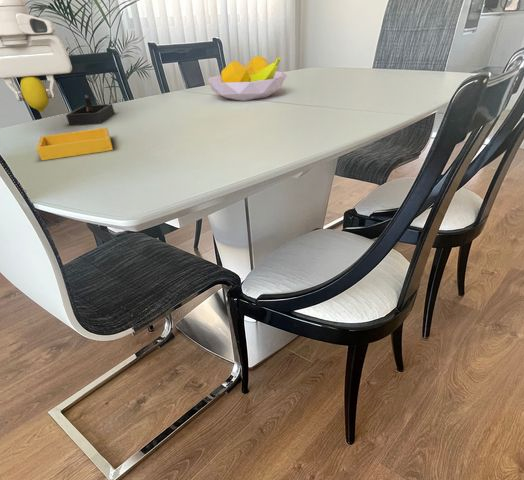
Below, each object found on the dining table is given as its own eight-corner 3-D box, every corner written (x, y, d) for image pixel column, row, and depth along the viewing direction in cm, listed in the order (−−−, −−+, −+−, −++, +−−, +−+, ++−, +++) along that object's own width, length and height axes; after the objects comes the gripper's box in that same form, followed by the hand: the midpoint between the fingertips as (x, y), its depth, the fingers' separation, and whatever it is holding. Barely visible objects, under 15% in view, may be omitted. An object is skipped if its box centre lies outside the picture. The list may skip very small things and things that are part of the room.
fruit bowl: (199, 97, 137) (194, 57, 130) (267, 87, 145) (266, 49, 137) (227, 109, 118) (222, 63, 110) (304, 97, 126) (305, 54, 118)
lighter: (90, 124, 120) (84, 107, 119) (96, 123, 121) (90, 106, 120) (87, 112, 113) (80, 93, 112) (94, 111, 113) (88, 92, 112)
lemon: (29, 115, 93) (14, 75, 87) (29, 111, 96) (15, 72, 91) (54, 112, 94) (40, 72, 89) (53, 109, 98) (40, 70, 93)
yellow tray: (41, 160, 86) (36, 147, 84) (45, 148, 94) (40, 136, 92) (113, 150, 89) (109, 137, 87) (110, 139, 97) (107, 127, 96)
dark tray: (101, 123, 113) (98, 112, 111) (69, 125, 113) (65, 115, 112) (114, 113, 123) (112, 104, 121) (85, 115, 123) (82, 105, 122)
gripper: (-47, 27, 80) (-13, 105, 89) (58, 22, 84) (80, 96, 93) (-40, 27, 84) (-8, 101, 93) (59, 22, 89) (80, 93, 98)
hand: (37, 99), depth 93 cm, fingers closed on lemon, 5 cm apart
